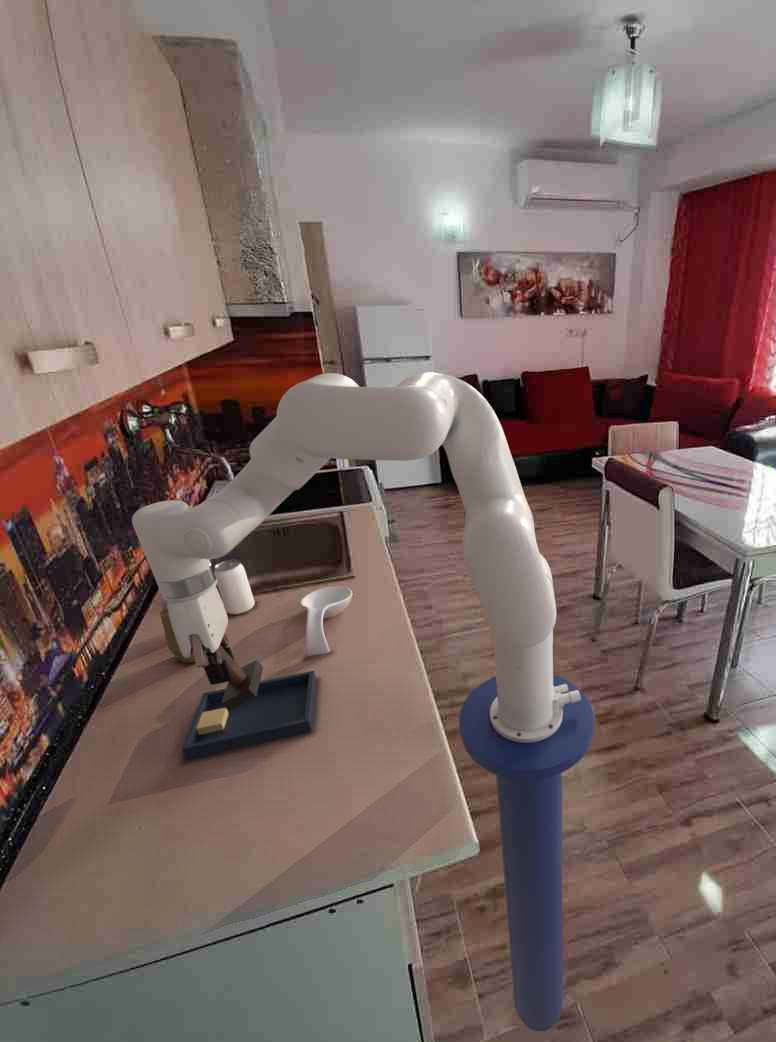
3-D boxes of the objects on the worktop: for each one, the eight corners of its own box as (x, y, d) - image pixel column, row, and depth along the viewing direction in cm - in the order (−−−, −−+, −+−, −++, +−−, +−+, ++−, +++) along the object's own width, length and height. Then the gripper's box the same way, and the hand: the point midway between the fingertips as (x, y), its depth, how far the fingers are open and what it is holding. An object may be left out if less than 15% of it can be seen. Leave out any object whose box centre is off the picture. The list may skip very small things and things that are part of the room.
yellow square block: (228, 713, 91) (226, 707, 91) (223, 729, 88) (221, 723, 87) (204, 718, 91) (202, 712, 90) (198, 735, 87) (196, 728, 86)
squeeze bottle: (218, 639, 113) (193, 568, 106) (214, 660, 107) (187, 586, 99) (177, 649, 111) (149, 577, 103) (171, 671, 104) (139, 596, 96)
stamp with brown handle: (237, 680, 91) (201, 641, 87) (263, 667, 92) (228, 627, 87) (228, 711, 84) (188, 670, 80) (256, 697, 85) (218, 655, 80)
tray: (316, 680, 99) (313, 670, 98) (311, 731, 87) (308, 720, 86) (207, 703, 95) (203, 692, 94) (186, 760, 83) (181, 749, 82)
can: (256, 598, 129) (243, 556, 124) (253, 611, 123) (240, 568, 118) (228, 604, 127) (214, 561, 122) (224, 617, 121) (209, 573, 116)
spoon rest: (307, 601, 126) (301, 576, 123) (356, 594, 128) (351, 569, 125) (290, 661, 105) (282, 632, 102) (349, 651, 107) (342, 623, 104)
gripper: (176, 562, 84) (211, 651, 92) (141, 613, 70) (186, 714, 78) (225, 553, 86) (255, 642, 94) (200, 602, 72) (238, 702, 79)
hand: (223, 674), depth 86 cm, fingers closed on stamp with brown handle, 2 cm apart
